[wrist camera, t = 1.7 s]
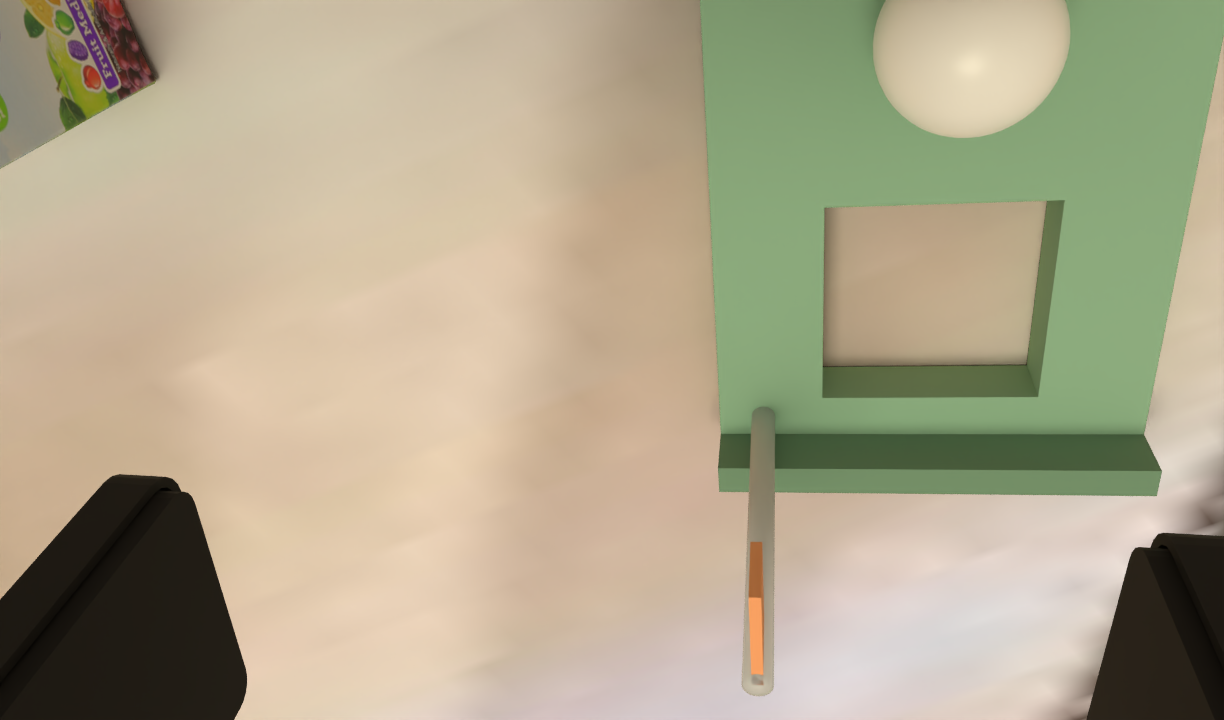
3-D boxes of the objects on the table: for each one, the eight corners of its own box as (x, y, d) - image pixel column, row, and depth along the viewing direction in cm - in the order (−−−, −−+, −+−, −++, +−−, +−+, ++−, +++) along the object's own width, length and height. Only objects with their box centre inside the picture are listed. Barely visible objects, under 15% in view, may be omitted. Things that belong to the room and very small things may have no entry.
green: (687, -386, 27) (617, -445, 15) (1287, -458, 25) (1741, -593, 13) (724, 424, 40) (701, 729, 28) (1123, 424, 38) (1278, 755, 26)
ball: (869, -68, 29) (883, -28, 25) (1058, -81, 28) (1105, -42, 24) (864, 107, 31) (876, 169, 27) (1037, 99, 30) (1077, 162, 26)
